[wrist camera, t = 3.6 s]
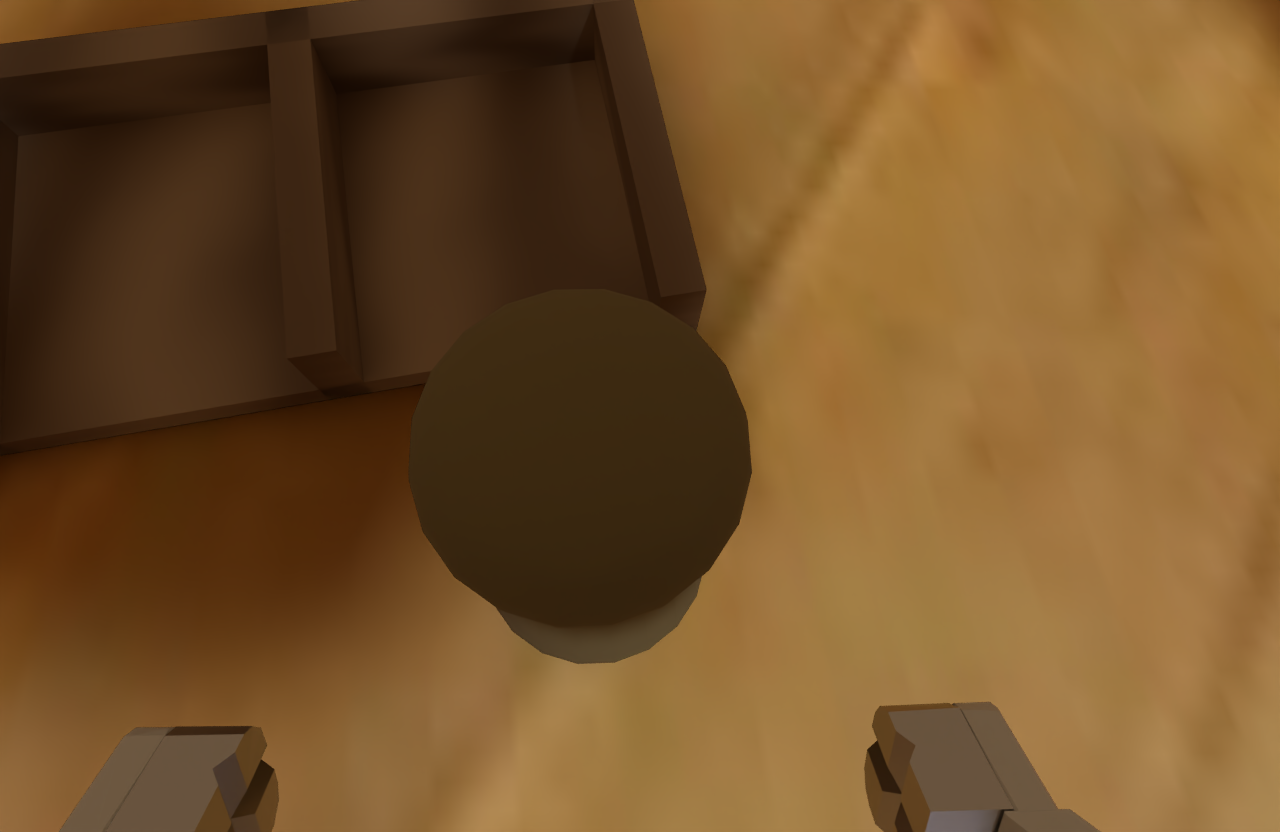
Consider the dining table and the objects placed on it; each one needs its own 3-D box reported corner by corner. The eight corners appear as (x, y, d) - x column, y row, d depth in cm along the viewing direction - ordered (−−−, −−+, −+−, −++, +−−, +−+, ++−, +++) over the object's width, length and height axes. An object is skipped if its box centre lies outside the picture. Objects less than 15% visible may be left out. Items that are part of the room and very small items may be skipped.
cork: (503, 426, 22) (403, 198, 11) (715, 453, 22) (814, 251, 11) (460, 648, 20) (293, 623, 9) (694, 678, 20) (788, 687, 9)
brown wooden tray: (624, 44, 26) (625, -32, 23) (694, 337, 23) (706, 289, 20) (-2, 126, 24) (-84, 53, 21) (-25, 459, 21) (-125, 425, 18)
